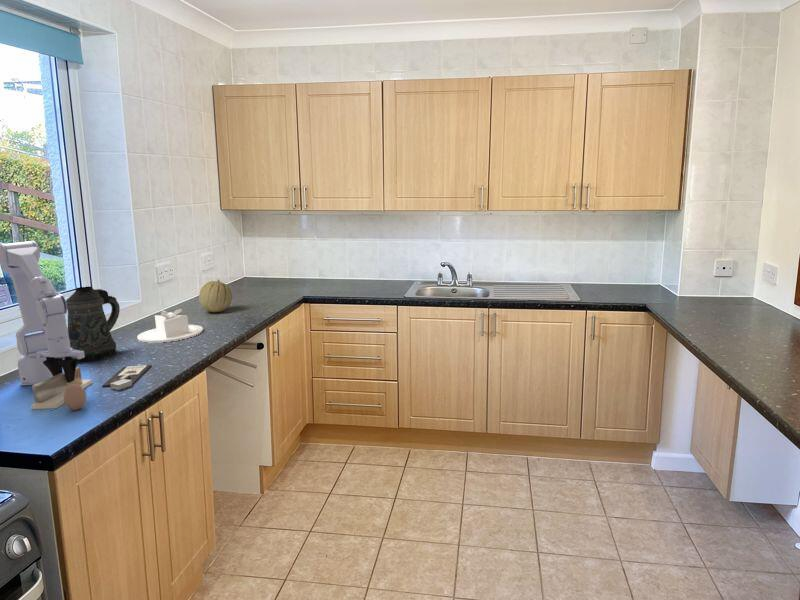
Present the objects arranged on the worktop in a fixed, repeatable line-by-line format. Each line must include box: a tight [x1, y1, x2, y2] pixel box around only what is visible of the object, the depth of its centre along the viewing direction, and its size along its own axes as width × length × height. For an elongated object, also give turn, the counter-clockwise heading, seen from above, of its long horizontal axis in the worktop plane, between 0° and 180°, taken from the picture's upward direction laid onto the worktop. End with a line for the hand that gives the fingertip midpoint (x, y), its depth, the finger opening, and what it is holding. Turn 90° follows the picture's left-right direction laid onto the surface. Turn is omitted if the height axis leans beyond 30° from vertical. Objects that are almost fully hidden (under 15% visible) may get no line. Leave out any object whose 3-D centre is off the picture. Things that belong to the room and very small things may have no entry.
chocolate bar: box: [101, 364, 152, 388], centre depth 185 cm, size 9×1×18 cm
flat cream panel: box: [30, 379, 93, 410], centre depth 170 cm, size 7×20×1 cm, turn 2°
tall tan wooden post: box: [31, 366, 83, 403], centre depth 169 cm, size 2×16×5 cm, turn 169°
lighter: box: [110, 374, 133, 391], centre depth 177 cm, size 7×2×8 cm
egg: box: [64, 384, 87, 411], centre depth 158 cm, size 5×5×7 cm
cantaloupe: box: [198, 279, 233, 313], centre depth 272 cm, size 15×15×15 cm
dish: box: [136, 308, 204, 344], centre depth 234 cm, size 25×25×11 cm
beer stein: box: [65, 286, 121, 364], centre depth 209 cm, size 16×19×25 cm
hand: (65, 381), depth 172 cm, fingers open, 3 cm apart
